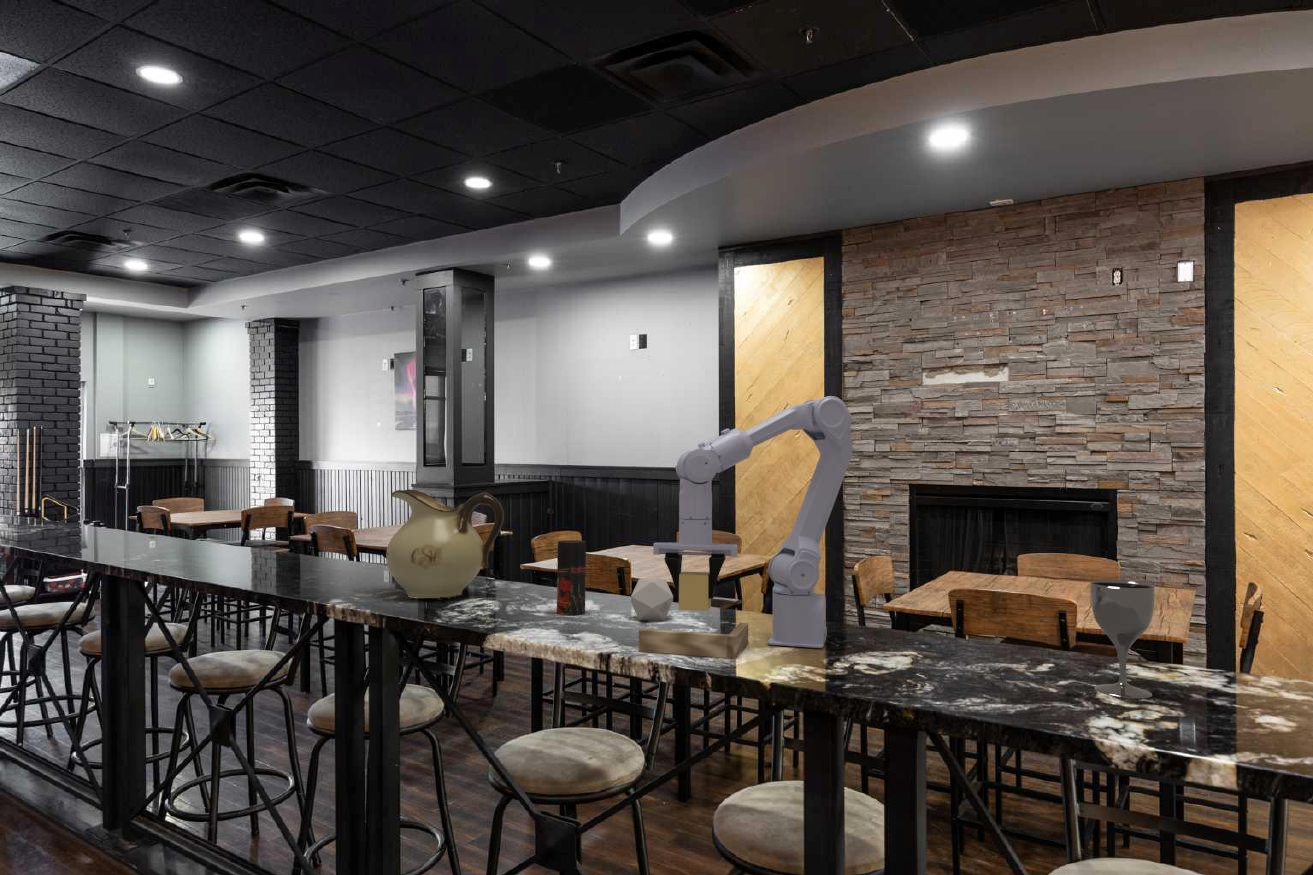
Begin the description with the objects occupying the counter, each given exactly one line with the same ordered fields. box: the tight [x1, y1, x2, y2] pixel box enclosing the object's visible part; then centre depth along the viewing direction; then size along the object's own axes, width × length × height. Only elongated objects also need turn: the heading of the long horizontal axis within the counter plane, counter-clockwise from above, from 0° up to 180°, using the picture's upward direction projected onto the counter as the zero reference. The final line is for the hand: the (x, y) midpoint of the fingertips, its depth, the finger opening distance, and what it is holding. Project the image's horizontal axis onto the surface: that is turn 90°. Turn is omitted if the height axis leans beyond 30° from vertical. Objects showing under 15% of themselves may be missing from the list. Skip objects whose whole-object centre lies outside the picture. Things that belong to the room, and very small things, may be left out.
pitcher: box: [385, 488, 505, 598], centre depth 194 cm, size 22×24×25 cm
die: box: [630, 578, 674, 621], centre depth 167 cm, size 8×9×10 cm
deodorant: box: [556, 539, 587, 616], centre depth 173 cm, size 6×6×15 cm
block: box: [678, 571, 712, 612], centre depth 143 cm, size 5×5×6 cm
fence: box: [638, 622, 749, 659], centre depth 141 cm, size 16×12×4 cm
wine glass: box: [1089, 579, 1156, 699], centre depth 116 cm, size 8×8×15 cm
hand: (695, 597), depth 142 cm, fingers closed on block, 5 cm apart
